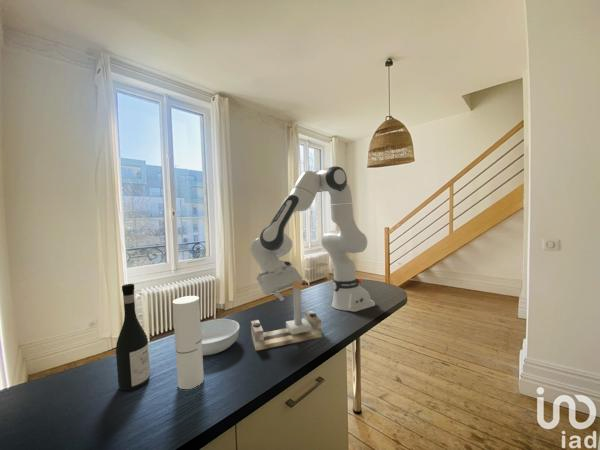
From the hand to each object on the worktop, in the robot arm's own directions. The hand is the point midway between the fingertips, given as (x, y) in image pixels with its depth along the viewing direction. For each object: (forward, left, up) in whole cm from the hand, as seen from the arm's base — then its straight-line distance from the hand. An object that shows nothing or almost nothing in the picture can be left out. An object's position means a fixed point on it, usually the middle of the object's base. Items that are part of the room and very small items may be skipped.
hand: (291, 296), depth 105 cm
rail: (+4, +3, -15) cm, 16 cm away
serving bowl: (+32, -1, -16) cm, 35 cm away
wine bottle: (+54, +12, -15) cm, 57 cm away
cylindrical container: (+38, +18, -15) cm, 44 cm away
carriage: (-1, +3, -12) cm, 13 cm away
